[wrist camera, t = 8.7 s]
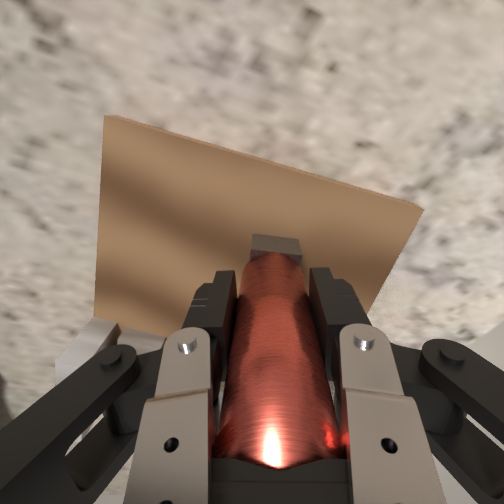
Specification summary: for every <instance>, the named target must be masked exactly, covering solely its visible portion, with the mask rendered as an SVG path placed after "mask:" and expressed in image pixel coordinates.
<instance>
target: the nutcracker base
mask: <svg viewBox="0 0 504 504" xmlns="http://www.w3.org/2000/svg"><path fill="white" fill-rule="evenodd" d="M423 211H424V209H422V208H421V207H419V206H417V205H415V204H414V203H410V202H407V201H403V200H400V199H397V198H393V197H390V196H386V195H383V194H380V193H376V192H373V191H369V190H366V189H363V188H359V187H356V186H353V185H349V184H346V183H342V182H339V181H336V180H332V179H329V178H325V177H322V176H319V175H315V174H312V173H308V172H305V171H302V170H298V169H295V168H291V167H288V166H285V165H281V164H278V163H274V162H271V161H268V160H264V159H261V158H258V157H254V156H251V155H247V154H244V153H241V152H237V151H234V150H230V149H227V148H224V147H220V146H217V145H213V144H210V143H207V142H203V141H200V140H196V139H193V138H190V137H186V136H183V135H179V134H176V133H173V132H169V131H166V130H162V129H159V128H156V127H152V126H149V125H146V124H142V123H139V122H135V121H132V120H129V119H125V118H122V117H118V116H104V126H103V146H102V165H101V184H100V203H99V223H98V242H97V261H96V280H95V300H94V317H93V318H92V319H91V320H90V322H89V323H88V324H87V325H86V326H85V327H84V329H83V330H82V331H81V332H80V333H79V334H78V336H77V337H76V338H75V339H74V340H73V341H72V343H71V344H70V345H69V346H68V347H67V348H66V350H65V351H64V352H63V353H62V354H61V355H60V357H59V358H58V359H57V360H56V361H55V385H58V384H59V383H60V382H61V381H63V380H64V379H65V378H66V377H68V376H69V375H70V374H71V373H73V372H74V371H75V370H76V369H78V368H79V367H80V366H81V365H83V364H84V363H85V362H86V361H88V360H89V359H90V358H91V357H93V356H94V355H95V354H97V353H98V352H99V351H101V350H103V349H105V348H107V347H110V346H113V345H118V344H127V345H130V346H132V347H133V348H134V349H135V350H136V353H137V355H140V354H144V353H148V352H152V351H155V350H159V349H161V348H163V347H164V344H165V342H166V340H167V339H168V337H169V336H171V335H172V334H173V333H175V332H176V331H179V330H181V328H182V326H183V323H184V320H185V318H186V315H187V313H188V310H189V308H190V305H191V302H192V300H193V297H194V295H195V292H196V290H197V289H198V288H199V287H200V286H201V285H202V284H203V283H213V280H214V277H215V273H216V271H224V270H234V271H235V276H236V285H237V295H239V288H240V282H241V276H242V272H243V269H244V267H245V266H246V264H247V263H248V262H249V260H250V252H251V243H252V235H253V234H262V235H270V236H279V237H287V238H296V239H299V243H300V247H301V251H302V255H303V256H302V261H301V266H300V267H301V269H302V272H303V275H304V280H305V284H306V288H307V293H308V297H309V272H310V268H313V267H329V268H330V271H331V273H332V275H333V278H334V279H344V280H345V281H347V282H348V283H349V284H351V285H352V287H353V289H354V291H355V293H356V295H357V297H358V299H359V302H360V303H361V305H362V307H363V309H364V311H365V313H366V314H367V313H368V311H369V309H370V307H371V305H372V304H373V302H374V300H375V298H376V296H377V294H378V293H379V291H380V289H381V287H382V285H383V284H384V282H385V280H386V278H387V276H388V275H389V273H390V271H391V269H392V267H393V265H394V264H395V262H396V260H397V258H398V256H399V255H400V253H401V251H402V249H403V247H404V245H405V244H406V242H407V240H408V238H409V236H410V235H411V233H412V231H413V229H414V227H415V225H416V224H417V222H418V220H419V218H420V216H421V215H422V213H423ZM329 382H330V381H328V383H329ZM91 425H92V424H91ZM91 425H90V426H89V427H88V428H87V429H86V430H85V431H84V432H83V433H82V434H81V435H80V436H79V437H78V438H77V439H76V440H75V441H74V442H77V443H79V442H80V441H81V440H82V439H83V438H84V437H85V436H86V434H87V432H88V431H89V429H90V427H91Z"/></svg>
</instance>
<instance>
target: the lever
mask: <svg viewBox="0 0 504 504" xmlns="http://www.w3.org/2000/svg"><path fill="white" fill-rule="evenodd" d="M302 256H303V255H302V251H301V247H300V243H299V239H296V238H287V237H279V236H270V235H262V234H253V235H252V243H251V252H250V260H249V262H248V263H247V264H246V266H245V267H244V269H243V272H242V276H241V282H240V288H239V295H238V301H237V308H236V314H235V321H234V327H233V334H232V340H231V347H230V353H229V360H228V366H227V373H226V379H225V382H221V386H220V392H219V399H220V418H219V424H218V431H217V436H218V440H217V458H234V459H238V460H241V461H244V462H248V463H251V464H254V465H258V466H261V467H264V468H268V469H271V470H274V471H284V470H287V469H290V468H294V467H297V466H301V465H304V464H308V463H311V462H315V461H318V460H321V459H341V450H340V438H339V433H340V430H339V426H338V421H337V417H336V413H335V408H334V404H333V400H332V396H331V391H330V387H329V383H328V378H327V374H326V370H325V366H324V361H323V357H322V353H321V348H320V344H319V340H318V336H317V331H316V327H315V323H314V318H313V314H312V310H311V306H310V301H309V297H308V293H307V288H306V284H305V280H304V275H303V272H302V269H301V267H300V266H301V261H302Z"/></svg>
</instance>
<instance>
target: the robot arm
mask: <svg viewBox="0 0 504 504" xmlns="http://www.w3.org/2000/svg"><path fill="white" fill-rule="evenodd" d="M237 301H238V295H237V285H236V276H235V271H234V270H224V271H216V273H215V277H214V280H213V283H203V284H202V285H201V286H200V287H199V288H198V289H197V290H196V292H195V295H194V297H193V300H192V302H191V305H190V308H189V310H188V313H187V315H186V318H185V320H184V323H183V326H182V328H181V330H179V331H176V332H175V333H173V334H172V335H171V336H169V337H168V339H167V340H166V342H165V344H164V347H163V348H161V349H159V350H155V351H152V352H148V353H144V354H140V355H137V353H136V350H135V349H134V348H133V347H132V346H130V345H127V344H118V345H113V346H110V347H107V348H105V349H103V350H101V351H99V352H98V353H97V354H95V355H94V356H93V357H91V358H90V359H89V360H88V361H86V362H85V363H84V364H83V365H81V366H80V367H79V368H78V369H76V370H75V371H74V372H73V373H71V374H70V375H69V376H68V377H66V378H65V379H64V380H63V381H61V382H60V383H59V384H58V385H56V386H55V387H54V388H53V389H51V390H50V391H49V392H48V393H46V394H45V395H44V396H43V397H41V398H40V399H39V400H38V401H36V402H35V403H34V404H33V405H31V406H30V407H29V408H28V409H27V410H25V411H24V412H23V413H22V414H20V415H19V416H18V417H17V418H15V419H14V420H13V421H12V422H10V423H9V424H8V425H7V426H5V427H4V428H3V429H2V430H0V504H93V503H94V502H95V501H96V499H97V498H98V497H99V496H100V494H101V493H102V492H103V491H104V489H105V488H106V487H107V486H108V484H109V483H110V482H111V481H112V479H113V478H114V477H115V475H116V474H117V473H118V472H119V470H120V469H121V468H122V467H123V465H124V464H125V463H126V462H127V460H128V459H129V458H130V456H131V455H132V454H133V453H134V455H133V459H132V464H131V469H130V473H129V478H128V482H127V487H126V492H125V496H124V501H123V504H447V503H446V499H445V496H444V493H443V489H442V486H441V483H440V479H439V476H438V473H437V470H436V466H435V463H434V460H433V457H432V454H433V455H434V456H435V457H436V458H437V459H438V460H439V461H440V462H441V464H442V465H443V466H444V467H445V468H446V469H447V470H448V471H449V472H450V474H451V475H452V476H453V477H454V478H455V479H456V480H457V481H458V482H459V483H460V484H461V486H462V487H463V488H464V489H465V490H466V491H467V492H468V493H469V494H470V495H471V497H472V498H473V499H474V500H475V501H476V502H477V503H478V504H504V451H503V450H502V449H501V448H500V447H499V446H498V445H496V444H495V443H494V442H493V441H492V440H491V439H490V438H488V437H487V436H486V435H485V434H484V433H483V432H482V431H481V430H479V429H478V428H477V427H476V426H475V425H474V424H473V423H471V422H470V421H469V420H468V419H467V418H466V416H467V413H468V414H469V415H470V416H471V417H472V418H473V419H475V420H476V421H477V422H478V423H479V424H480V425H481V426H483V427H484V428H485V429H486V430H487V431H488V432H490V433H491V434H492V435H493V436H494V437H495V438H497V439H498V440H499V441H500V442H501V443H502V444H504V371H502V370H501V369H499V368H498V367H496V366H495V365H493V364H492V363H490V362H489V361H487V360H486V359H484V358H483V357H481V356H480V355H478V354H477V353H475V352H474V351H472V350H471V349H469V348H467V347H466V346H464V345H462V344H460V343H457V342H454V341H451V340H446V339H432V340H429V341H427V342H425V343H424V345H423V346H422V350H417V349H412V348H407V347H402V346H399V345H395V344H393V343H390V342H389V339H388V337H387V336H386V335H385V334H384V333H383V332H382V331H381V330H379V329H378V328H375V327H373V326H372V325H371V323H370V321H369V319H368V317H367V315H366V313H365V311H364V309H363V307H362V305H361V303H360V302H359V299H358V297H357V295H356V293H355V291H354V289H353V287H352V285H351V284H349V283H348V282H347V281H345V280H344V279H334V278H333V275H332V273H331V271H330V268H329V267H313V268H310V272H309V301H310V306H311V310H312V314H313V318H314V323H315V327H316V331H317V336H318V340H319V344H320V348H321V353H322V357H323V361H324V366H325V370H326V374H327V378H328V381H333V382H334V386H335V396H334V408H335V413H336V417H337V421H338V426H339V430H340V433H339V438H340V450H341V459H321V460H318V461H315V462H311V463H308V464H304V465H301V466H297V467H294V468H290V469H287V470H284V471H274V470H271V469H268V468H264V467H261V466H258V465H254V464H251V463H248V462H244V461H241V460H238V459H234V458H217V440H218V436H217V431H218V424H219V418H220V399H219V392H220V386H221V382H225V379H226V373H227V366H228V360H229V353H230V347H231V340H232V334H233V327H234V321H235V314H236V308H237ZM102 413H103V415H104V417H103V418H102V419H101V420H100V421H99V423H98V424H97V425H96V426H95V427H94V428H93V429H92V430H91V431H90V432H89V433H88V434H87V435H86V436H85V437H84V438H83V439H82V440H81V441H80V442H79V443H78V444H77V445H76V446H75V447H74V448H73V449H72V450H71V451H70V452H69V453H68V454H67V455H66V452H67V450H68V449H69V447H70V446H71V444H72V443H73V442H74V441H75V440H76V439H77V438H78V437H79V436H80V435H81V434H82V433H83V432H84V431H85V430H86V429H87V428H88V427H89V426H90V425H91V424H92V423H93V422H94V421H95V420H96V419H97V418H98V417H99V416H100V415H101V414H102ZM65 455H66V456H65Z"/></svg>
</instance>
